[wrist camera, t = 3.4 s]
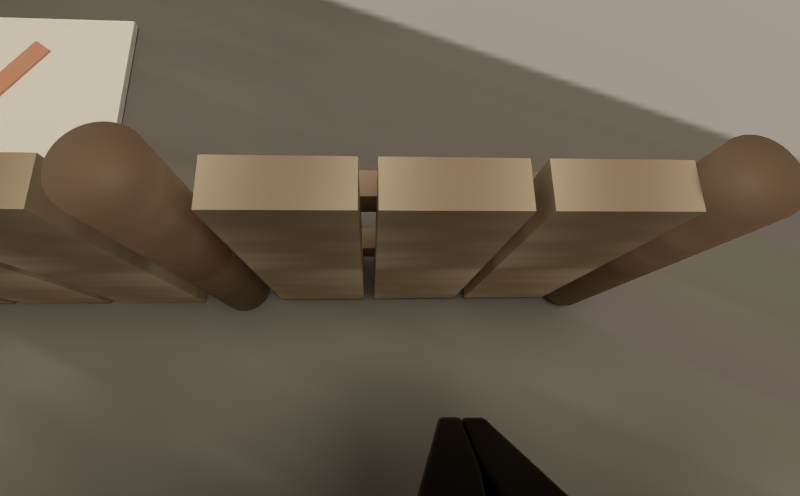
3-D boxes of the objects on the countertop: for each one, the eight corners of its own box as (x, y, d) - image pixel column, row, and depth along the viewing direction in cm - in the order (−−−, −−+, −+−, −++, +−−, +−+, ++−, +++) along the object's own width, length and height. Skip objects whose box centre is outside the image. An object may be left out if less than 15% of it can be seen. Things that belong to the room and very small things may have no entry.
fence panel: (268, 308, 15) (152, 218, 7) (272, 252, 16) (168, 109, 8) (588, 304, 16) (817, 220, 8) (580, 252, 16) (788, 120, 8)
